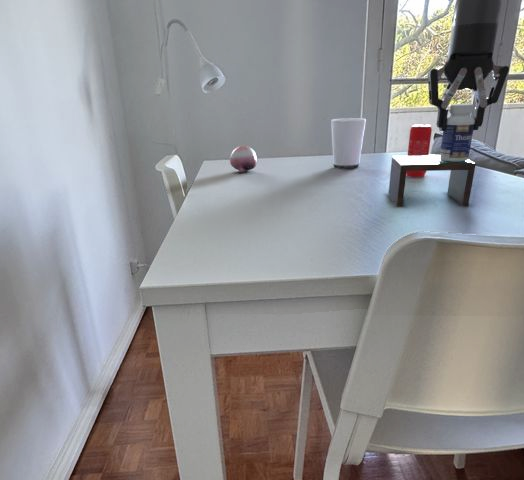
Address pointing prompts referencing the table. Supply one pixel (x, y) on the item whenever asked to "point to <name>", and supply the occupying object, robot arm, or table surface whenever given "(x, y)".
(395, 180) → the shelf
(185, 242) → the table surface
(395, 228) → the table surface
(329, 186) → the table surface
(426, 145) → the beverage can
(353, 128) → the cup
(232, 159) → the onion
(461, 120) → the pill bottle
